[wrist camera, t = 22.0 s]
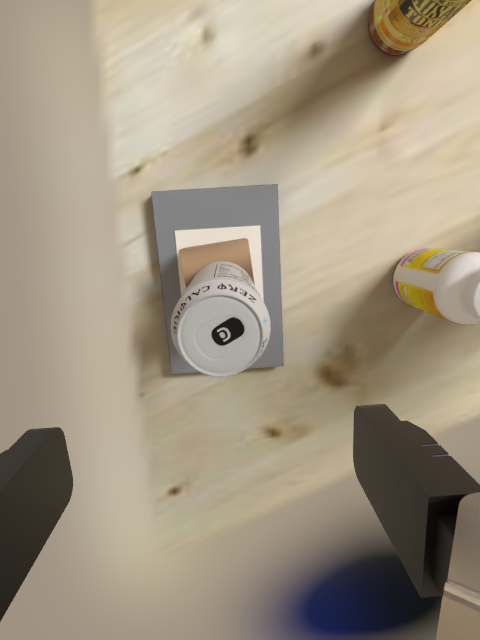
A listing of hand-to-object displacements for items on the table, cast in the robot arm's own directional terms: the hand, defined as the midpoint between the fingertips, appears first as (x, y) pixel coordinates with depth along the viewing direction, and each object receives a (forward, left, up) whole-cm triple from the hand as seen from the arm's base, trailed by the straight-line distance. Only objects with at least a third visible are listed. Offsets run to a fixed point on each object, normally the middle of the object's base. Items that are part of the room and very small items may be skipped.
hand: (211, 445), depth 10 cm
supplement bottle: (-18, -14, -32) cm, 40 cm away
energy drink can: (0, 0, -26) cm, 26 cm away
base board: (0, 0, -32) cm, 32 cm away
